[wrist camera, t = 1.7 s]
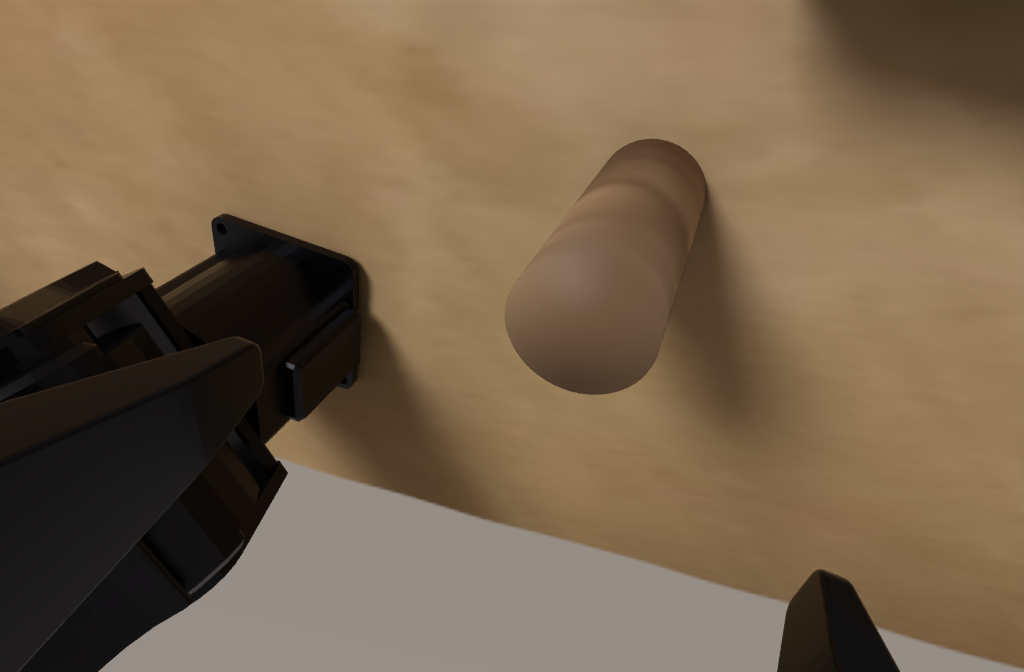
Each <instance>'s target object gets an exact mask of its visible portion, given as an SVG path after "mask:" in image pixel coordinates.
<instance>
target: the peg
mask: <svg viewBox="0 0 1024 672" xmlns="http://www.w3.org/2000/svg"><path fill="white" fill-rule="evenodd" d="M705 199H706V183H705V178H704V175H703V172H702V170H701V168H700V166H699V165H698V163H697V161H696V160H695V159H694V158H693V157H692V156H691V155H690V154H689V153H688V152H687V151H686V150H684V149H683V148H681V147H680V146H678V145H676V144H674V143H671V142H668V141H664V140H659V139H645V140H639V141H636V142H633V143H630V144H628V145H626V146H624V147H622V148H621V149H619V150H618V151H617V152H616V153H615V154H613V156H612V157H611V158H610V159H609V160H608V161H607V163H606V164H605V165H604V167H603V168H602V169H601V171H600V172H599V173H598V175H597V176H596V177H595V179H594V180H593V181H592V182H591V184H590V185H589V186H588V188H587V189H586V190H585V192H584V193H583V194H582V196H581V197H580V198H579V199H578V201H577V202H576V203H575V205H574V206H573V207H572V209H571V210H570V211H569V213H568V214H567V215H566V216H565V218H564V219H563V220H562V222H561V223H560V224H559V226H558V227H557V228H556V230H555V231H554V232H553V233H552V235H551V236H550V237H549V239H548V240H547V241H546V243H545V244H544V245H543V247H542V248H541V249H540V251H539V252H538V253H537V254H536V256H535V257H534V258H533V260H532V261H531V262H530V264H529V265H528V266H527V268H526V269H525V270H524V271H523V273H522V274H521V275H520V277H519V278H518V279H517V281H516V282H515V284H514V285H513V287H512V288H511V291H510V293H509V295H508V298H507V302H506V308H505V322H506V328H507V332H508V335H509V338H510V340H511V343H512V345H513V347H514V348H515V350H516V352H517V353H518V355H519V356H520V357H521V359H522V360H523V361H524V362H525V363H526V365H527V366H528V367H529V368H530V369H531V370H533V371H534V372H535V373H536V374H537V375H539V376H540V377H542V378H543V379H545V380H546V381H548V382H550V383H552V384H553V385H556V386H558V387H560V388H563V389H566V390H569V391H572V392H577V393H581V394H591V395H594V394H608V393H613V392H617V391H620V390H623V389H625V388H628V387H630V386H631V385H633V384H635V383H636V382H638V381H639V380H640V379H642V378H643V377H644V376H645V375H646V374H647V372H648V371H649V370H650V368H651V367H652V366H653V364H654V362H655V360H656V358H657V355H658V352H659V348H660V345H661V342H662V339H663V336H664V332H665V329H666V326H667V323H668V320H669V316H670V313H671V310H672V307H673V304H674V300H675V297H676V294H677V291H678V288H679V284H680V281H681V278H682V275H683V272H684V268H685V265H686V262H687V259H688V256H689V252H690V249H691V246H692V243H693V239H694V236H695V233H696V230H697V227H698V223H699V220H700V217H701V214H702V211H703V207H704V204H705Z"/></svg>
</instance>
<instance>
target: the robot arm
mask: <svg viewBox="0 0 1024 672" xmlns="http://www.w3.org/2000/svg"><path fill="white" fill-rule="evenodd" d="M225 227H226V228H225ZM212 232H213V239H214V246H215V253H216V254H215V255H213V256H211V257H210V258H208V259H206V260H204V261H203V262H201V263H199V264H198V265H196V266H194V267H192V268H191V269H189V270H187V271H186V272H184V273H182V274H180V275H179V276H177V277H175V278H174V279H172V280H170V281H168V282H167V283H165V284H163V285H162V286H160V287H158V288H156V289H155V288H154V287H153V285H152V284H151V283H153V280H152V279H151V277H150V276H149V275H148V273H147V272H146V270H145V269H144V268H140V269H138V270H135V271H133V272H131V273H128V274H126V275H123V276H121V274H120V273H119V272H118V271H114V270H112V269H110V268H108V267H107V266H105V265H103V264H101V263H99V262H98V261H96V262H94V263H92V264H89V265H87V266H85V267H83V268H81V269H79V270H77V271H75V272H73V273H71V274H69V275H67V276H65V277H63V278H61V279H59V280H57V281H55V282H53V283H51V284H49V285H47V286H45V287H43V288H41V289H39V290H37V291H35V292H33V293H31V294H29V295H27V296H25V297H23V298H21V299H19V300H17V301H15V302H13V303H12V304H10V305H8V306H6V307H4V308H2V309H0V672H98V671H99V670H100V669H102V668H103V667H104V666H105V665H106V664H107V663H108V662H109V661H111V660H112V659H113V658H114V657H115V656H117V655H118V654H119V653H120V652H121V651H122V650H123V649H125V648H126V647H127V646H129V645H130V644H131V643H133V642H134V641H135V640H137V639H138V638H139V637H141V636H142V635H144V634H145V633H146V632H147V631H149V630H150V629H152V628H153V627H155V626H156V625H158V624H160V623H161V622H163V621H165V620H166V619H168V618H170V617H172V616H173V615H175V614H177V613H178V612H180V611H182V610H184V609H185V608H187V607H188V606H189V605H190V604H192V603H193V602H195V601H196V600H198V599H199V598H201V597H202V596H203V595H204V594H206V593H207V592H208V591H209V590H211V589H212V588H213V587H214V586H215V585H216V584H217V583H218V582H219V581H220V580H221V579H223V578H224V577H225V576H226V574H227V573H228V572H229V571H230V569H232V567H233V566H234V565H235V564H236V562H237V561H238V559H239V558H240V556H241V555H242V553H243V551H244V549H245V548H246V546H247V544H248V543H249V541H250V539H251V537H252V535H253V534H254V532H255V530H256V528H257V527H258V525H259V523H260V522H261V520H262V518H263V516H264V515H265V513H266V511H267V509H268V507H269V506H270V504H271V502H272V500H273V499H274V497H275V495H276V493H277V492H278V490H279V488H280V486H281V485H282V483H283V481H284V479H285V478H286V476H287V474H288V472H287V471H286V469H285V468H284V467H283V465H282V464H281V462H280V461H276V460H275V458H274V457H273V455H272V454H271V452H270V451H269V450H268V448H267V447H266V445H265V444H266V443H267V442H268V441H269V440H270V439H271V438H272V437H273V436H274V435H275V434H276V433H277V432H278V431H279V430H280V429H281V428H282V427H283V426H284V425H285V424H286V423H287V422H288V421H289V420H290V419H292V420H295V421H298V422H299V421H301V420H303V419H305V418H306V417H307V416H308V415H309V414H310V413H311V412H312V411H313V410H314V409H315V408H316V407H317V406H318V405H319V404H320V403H321V402H322V401H323V400H324V398H325V397H326V396H327V395H328V394H329V393H330V392H331V391H332V390H333V389H334V388H335V387H336V386H339V387H342V388H346V389H347V388H350V387H351V386H352V385H353V384H354V383H355V382H356V381H357V365H358V364H359V362H360V324H361V317H360V314H359V311H358V297H359V269H358V266H357V264H356V262H355V261H354V260H353V259H351V258H350V257H348V256H345V255H342V254H339V253H336V252H334V251H331V250H328V249H325V248H322V247H319V246H317V245H314V244H311V243H308V242H305V241H302V240H299V239H297V238H294V237H291V236H288V235H285V234H282V233H280V232H277V231H274V230H271V229H268V228H265V227H263V226H260V225H257V224H254V223H251V222H248V221H246V220H243V219H240V218H237V217H234V216H231V215H229V214H222V215H219V216H218V217H216V218H214V219H213V220H212ZM342 267H344V268H345V269H346V270H347V273H346V272H345V271H344V270H343V268H342ZM777 672H900V671H899V669H898V667H897V665H896V663H895V661H894V659H893V658H892V656H891V654H890V652H889V651H888V648H887V647H886V645H885V643H884V641H883V639H882V638H881V636H880V634H879V632H878V630H877V629H876V627H875V625H874V623H873V621H872V619H871V618H870V616H869V614H868V612H867V610H866V609H865V607H864V605H863V603H862V601H861V599H860V598H859V596H858V594H857V592H856V590H855V589H854V587H853V585H852V584H851V583H850V582H849V581H848V580H847V579H845V578H843V577H840V576H838V575H835V574H833V573H830V572H828V571H825V570H821V569H819V570H816V571H814V572H813V573H812V574H811V576H810V577H809V578H808V579H807V581H806V582H805V583H804V584H803V586H802V587H801V588H800V589H799V591H798V592H797V593H796V594H795V596H794V597H793V598H792V600H791V601H790V603H789V606H788V609H787V612H786V618H785V624H784V631H783V637H782V643H781V650H780V657H779V663H778V670H777Z"/></svg>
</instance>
